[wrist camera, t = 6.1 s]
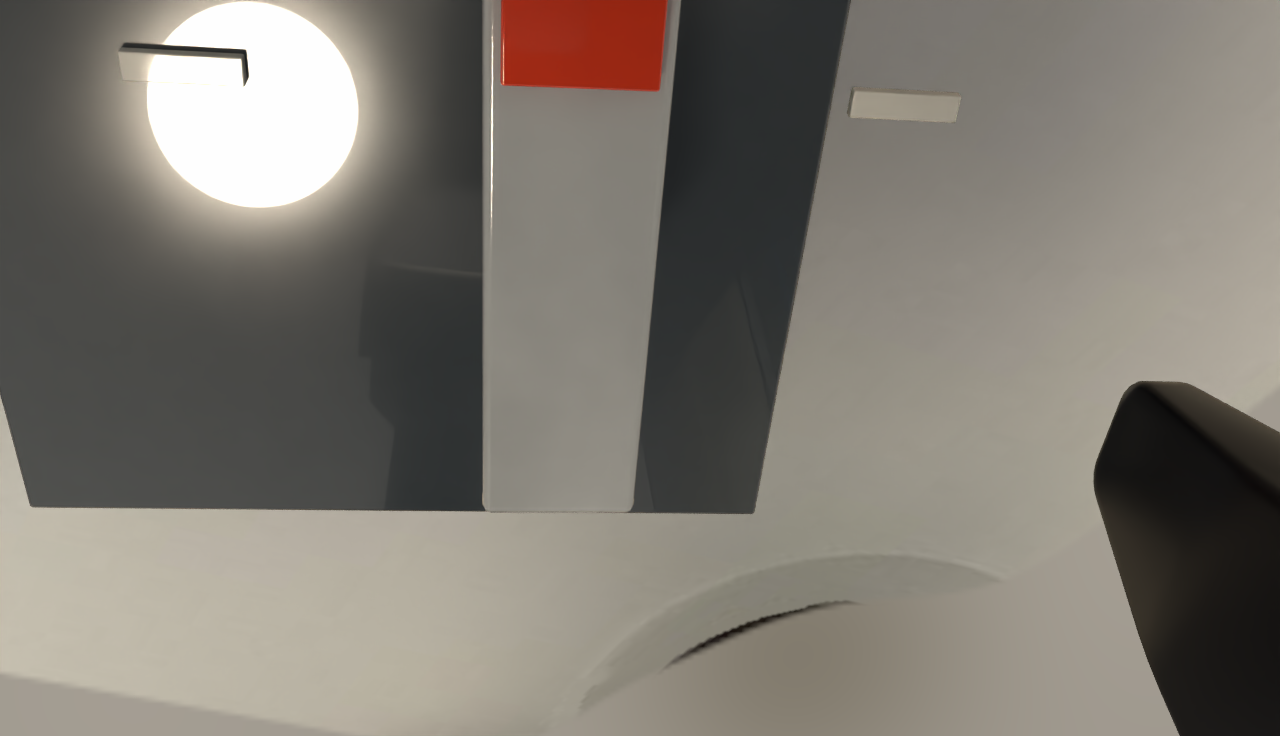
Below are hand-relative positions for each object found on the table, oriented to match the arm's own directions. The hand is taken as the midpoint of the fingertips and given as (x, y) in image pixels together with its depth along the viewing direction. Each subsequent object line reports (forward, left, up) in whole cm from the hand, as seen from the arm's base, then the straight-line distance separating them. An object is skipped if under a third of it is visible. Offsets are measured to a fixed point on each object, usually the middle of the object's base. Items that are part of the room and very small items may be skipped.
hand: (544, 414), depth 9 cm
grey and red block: (0, 0, -7) cm, 7 cm away
